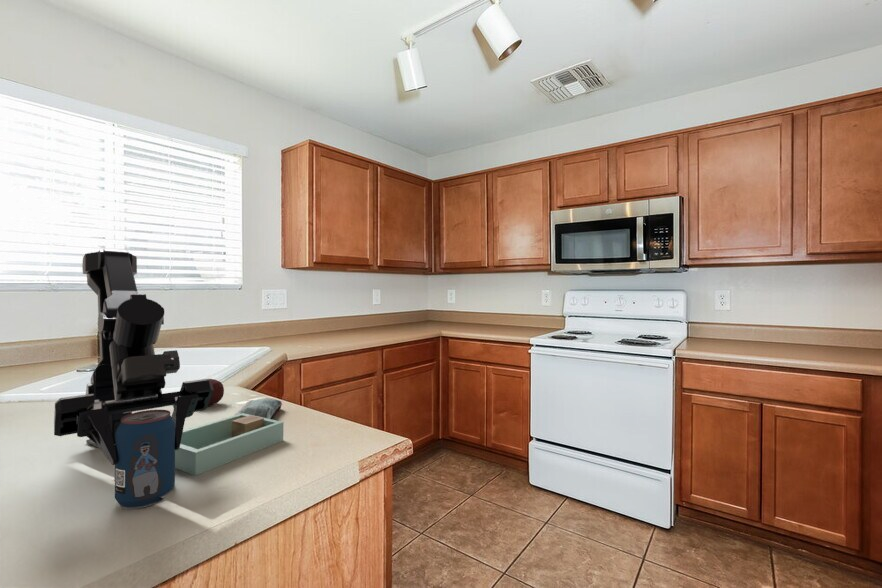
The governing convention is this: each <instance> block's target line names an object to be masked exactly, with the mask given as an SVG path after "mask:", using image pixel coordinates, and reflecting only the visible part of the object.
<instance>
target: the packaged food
mask: <svg viewBox="0 0 882 588" xmlns="http://www.w3.org/2000/svg"><path fill="white" fill-rule="evenodd" d="M282 406H283V403H282V400H278V399H274V398H268V397H267V398H258V399H252V400H249V401H247V402H246V404H245V405H243V406H242V407H241V408H240V409H239V410H238V411H237V412H235V413H234V415H233V416H235V415H238V414H242V413H245V414H249V415H254V416H258V417H263V418H267V419H272V420H274V419H273V418H275V416H276V415H277V414H279V412H280V411H281V408H282Z"/></svg>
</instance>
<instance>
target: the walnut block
mask: <svg viewBox="0 0 882 588" xmlns="http://www.w3.org/2000/svg"><path fill="white" fill-rule="evenodd" d="M262 427H264V418H260V417H256V416H251V415H249V416H246V417H243V418H239V419H236V420H233V421H232V438H233V437H236V436H239V435H241V434H244V433H247V432H250V431H253V430H256V429H259V428H262Z"/></svg>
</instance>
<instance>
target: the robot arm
mask: <svg viewBox="0 0 882 588" xmlns="http://www.w3.org/2000/svg"><path fill="white" fill-rule="evenodd" d="M137 257H138V256H136V255H133V253H132V251H130V252H129V251H128V250H124V249H123V250H121V249H110V248H109V249H108V248H104V249H102V250H100V249H99V250H98V251H94V252H92V251H91V252H88V253H85V254H83V256H82V274H83V275H86V284H87V286H88V287H89V288H90V289H91V290H92V291H93V292H94V293H95V294H96V295H97V312H98V315H97V331H98V335H99V338H98V339H99V359H100V362H99V364H98V365H97V367H95V369H94V371H93V372H92V374H91V377H90V383H87V384H86V389H85V394H79V395H73V396H65V397H60V398H58V400H56V402H55V403H54V411H53V412H54V415H53V435H54V436H57V437H62V436H68V435H75V434H76V435H77V437H78V438H84V437H86V438H88V439H87V440H86V444H88V445H91V446H94V447H96V448H99V449H100V450H101V452H102V453H103V454H104V456H105V457H106V458H107V459H108V461H109V462H110V463H111V465H112V466H115V464H117V451H116V447H115V432H116V430H117V428H118V427H119V425H120V423H121V418H122V417H124V416H126V415H129V414H132V413H135V412H140V411H146V410H154V409H157V408H164V407H165V408H166V407H170V406H172V407H173V408H172V409H173V410H172V411H173V412H172V414H171V417H172V419H173V420H174V422H175V450H179V447H180V443H181V438H182V433H183V430H184V426H185V422H186V419H187V418H191V417H193V414H194V413H197V412H202V411H204V410H206V409H208V407H209V406H208V404H209V402H210V399H211V397H212V394H213V392H214V389H213V385H212V383H211V382H210V381H209V380H207V379H208V378H204V379H193V380H188V381H187V380H186V381H183V382H182V384H181V386H180V390H179V391H172V392H165V393H163V392H162V389H165V387H166V379H165V377H166V376H167V375H168V374H177V372H178V371H179V370H180V368H181V363H180V355H179V353H178V352H179V351H178V350H176V349H175V350H166V351H163V353H162V354H161V353H160V354H155V346H154V345H155V344H157V342H158V338H159V335H160V332H161V328H162V325H165V324H164V322H165V319H164V318H165V317H164V316H165V308H164V307H163V306H162V305H161V304H159V302H157V301H154V300H152V299H149V298H147V294H146V293H145V294H144V293H140V294H139V292H138V289H137V288H138V287H137V284H136V280H135V275H137V274H138V261H137V259H138V258H137Z"/></svg>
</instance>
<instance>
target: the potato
mask: <svg viewBox="0 0 882 588" xmlns="http://www.w3.org/2000/svg"><path fill="white" fill-rule="evenodd" d="M206 379H207V380H209V381H210V382H211V383H212V385H213V389H214V392H213V394H212V397H211V399H210V402H209V404H208V407H211V406H214V405H216V404H217V403H219V402H220V401H221V400H222V399H223V397H224V394H225V387H224V384H222V382H221V381H219V380H218V379H213V378H206Z"/></svg>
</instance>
